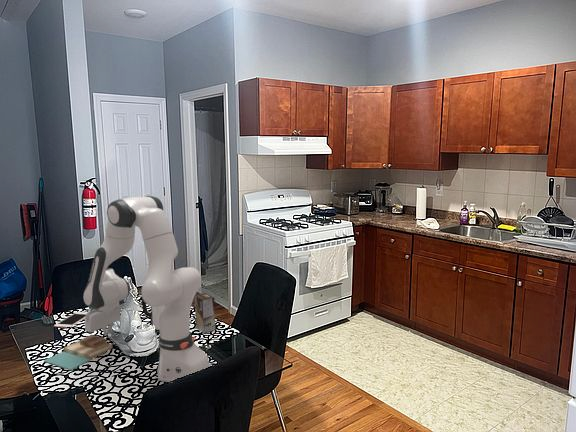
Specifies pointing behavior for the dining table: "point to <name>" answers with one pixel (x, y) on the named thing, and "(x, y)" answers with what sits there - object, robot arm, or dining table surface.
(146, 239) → the robot arm
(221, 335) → the dining table surface
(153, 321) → the coffee press
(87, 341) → the tile
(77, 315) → the cell phone
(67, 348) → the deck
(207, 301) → the coffee box
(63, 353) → the mat
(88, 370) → the dining table surface
